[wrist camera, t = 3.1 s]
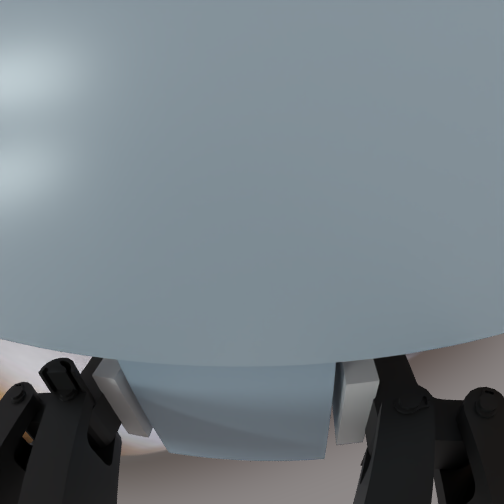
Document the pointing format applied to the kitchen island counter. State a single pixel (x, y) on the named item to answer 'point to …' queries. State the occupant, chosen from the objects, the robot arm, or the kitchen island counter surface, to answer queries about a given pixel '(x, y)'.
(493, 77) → the lid
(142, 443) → the kitchen island counter surface
